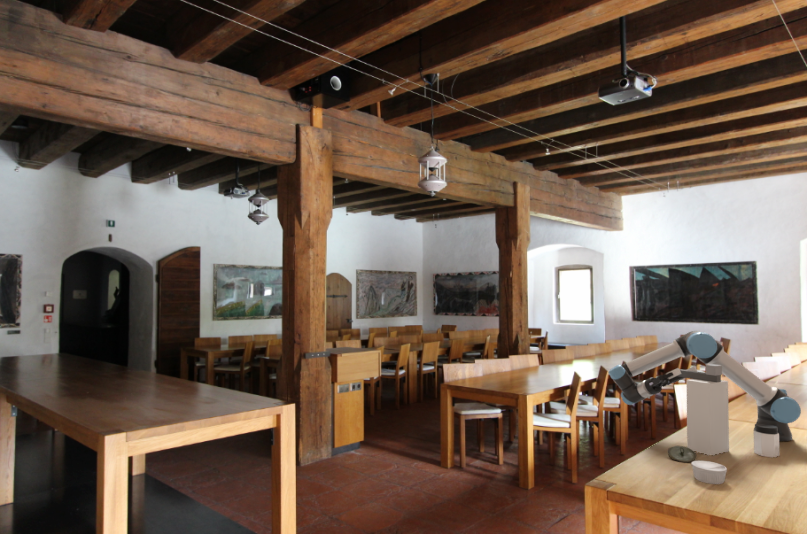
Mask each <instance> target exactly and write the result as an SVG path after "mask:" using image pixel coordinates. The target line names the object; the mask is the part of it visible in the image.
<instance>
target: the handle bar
mask: <svg viewBox="0 0 807 534" xmlns="http://www.w3.org/2000/svg"><path fill="white" fill-rule="evenodd" d="M679 370H680V371H681V373H682V374H680V375H678V376H677V377H684V378H685V379H689V380H690V379H697V380H703V381H710V382H716V383H717V382H721V380H722V377H721V376H723V374H722V365H714V364H705V372H702V371H697V372H696V371H689V370H687V369H680V368H679Z"/></svg>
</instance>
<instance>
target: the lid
mask: <svg viewBox="0 0 807 534" xmlns="http://www.w3.org/2000/svg"><path fill="white" fill-rule="evenodd" d="M696 453H697V452H694V451H693V450H691V449H689V448H687V446H684V445H674V446H670V447H669V448H668V449H667V455H668V457H669V458H670V459H672V460H674V461H676V462H679V461H681V462H680V463H692V462H693V461H696V459H697V457H698V456H697V454H696Z"/></svg>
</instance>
